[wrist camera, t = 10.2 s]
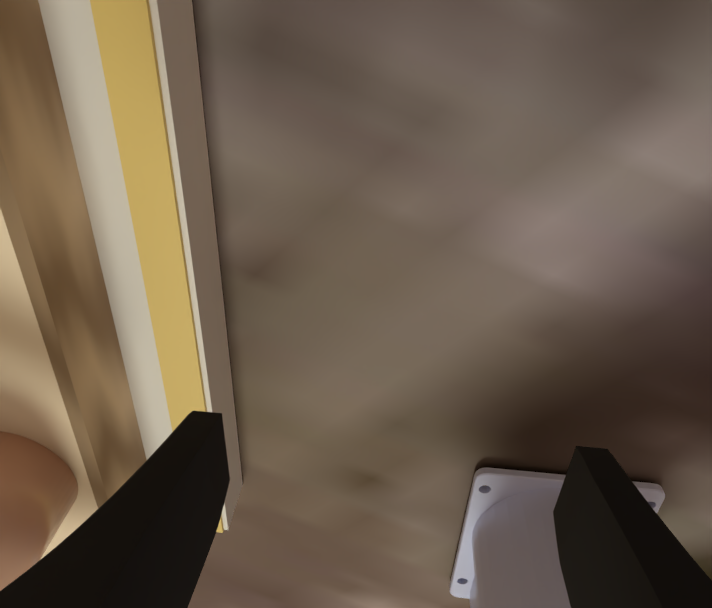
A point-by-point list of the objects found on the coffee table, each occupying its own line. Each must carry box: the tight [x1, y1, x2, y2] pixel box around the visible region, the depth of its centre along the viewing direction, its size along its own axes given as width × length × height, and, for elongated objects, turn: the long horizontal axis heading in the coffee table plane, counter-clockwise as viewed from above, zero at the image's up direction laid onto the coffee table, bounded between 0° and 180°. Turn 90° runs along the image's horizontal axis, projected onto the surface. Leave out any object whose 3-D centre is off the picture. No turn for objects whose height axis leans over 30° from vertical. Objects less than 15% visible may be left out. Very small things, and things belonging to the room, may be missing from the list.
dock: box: [38, 0, 243, 533], centre depth 19 cm, size 26×11×3 cm, turn 178°
